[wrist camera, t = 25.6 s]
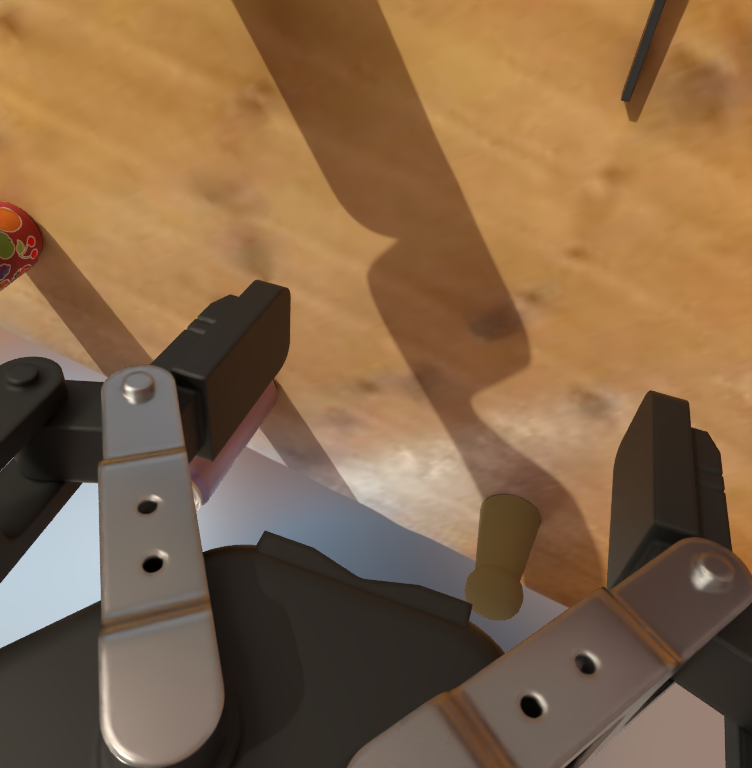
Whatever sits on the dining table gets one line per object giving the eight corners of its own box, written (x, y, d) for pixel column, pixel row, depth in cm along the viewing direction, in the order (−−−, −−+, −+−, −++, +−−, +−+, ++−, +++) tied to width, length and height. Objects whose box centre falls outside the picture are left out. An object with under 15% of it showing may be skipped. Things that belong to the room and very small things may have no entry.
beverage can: (265, 357, 61) (181, 465, 50) (288, 405, 64) (214, 517, 53) (216, 361, 64) (126, 465, 53) (241, 407, 67) (161, 514, 56)
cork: (480, 489, 63) (456, 581, 55) (543, 500, 61) (527, 597, 53) (479, 529, 67) (456, 620, 59) (538, 540, 65) (522, 637, 57)
